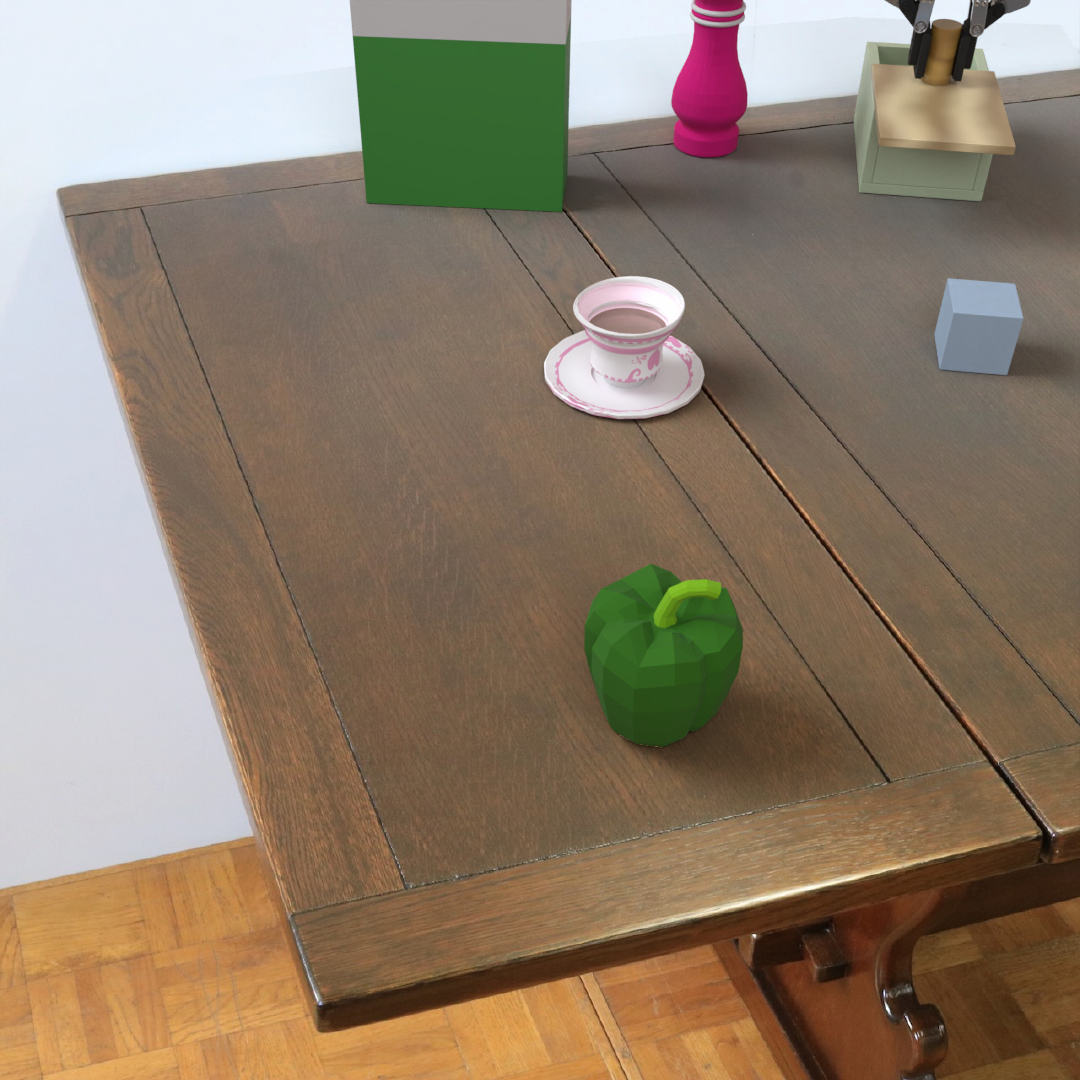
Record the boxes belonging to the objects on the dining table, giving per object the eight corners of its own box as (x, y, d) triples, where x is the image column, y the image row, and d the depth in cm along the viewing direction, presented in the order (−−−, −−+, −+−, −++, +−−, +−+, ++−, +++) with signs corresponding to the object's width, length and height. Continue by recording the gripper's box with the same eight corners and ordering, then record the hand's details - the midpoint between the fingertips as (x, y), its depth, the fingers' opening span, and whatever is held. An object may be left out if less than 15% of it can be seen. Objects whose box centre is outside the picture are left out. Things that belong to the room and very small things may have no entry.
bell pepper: (557, 741, 72) (560, 609, 66) (612, 642, 78) (620, 512, 72) (703, 791, 70) (722, 660, 63) (749, 686, 76) (771, 555, 69)
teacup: (634, 443, 93) (639, 369, 89) (510, 377, 99) (509, 305, 95) (736, 373, 99) (745, 301, 95) (613, 314, 105) (617, 245, 101)
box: (964, 128, 133) (983, 48, 127) (981, 201, 121) (1002, 117, 115) (853, 120, 134) (866, 41, 128) (858, 192, 122) (874, 108, 117)
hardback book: (366, 202, 119) (342, -80, 104) (380, 166, 125) (360, -107, 109) (562, 211, 118) (568, -72, 103) (567, 174, 124) (573, -100, 108)
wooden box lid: (992, 79, 121) (1007, 15, 118) (1013, 155, 109) (1031, 87, 106) (870, 71, 123) (881, 8, 119) (878, 146, 111) (891, 77, 107)
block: (999, 339, 103) (1015, 283, 100) (1007, 375, 100) (1023, 318, 96) (934, 334, 104) (947, 277, 100) (939, 369, 100) (953, 312, 97)
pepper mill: (723, 124, 133) (745, -89, 120) (754, 154, 128) (781, -64, 114) (656, 133, 131) (671, -81, 118) (685, 164, 126) (704, -57, 113)
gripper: (1080, -158, 109) (1024, 64, 121) (879, -168, 110) (844, 52, 123) (1095, -133, 103) (1034, 97, 115) (883, -143, 105) (845, 84, 117)
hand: (937, 72), depth 119 cm, fingers closed on wooden box lid, 2 cm apart
